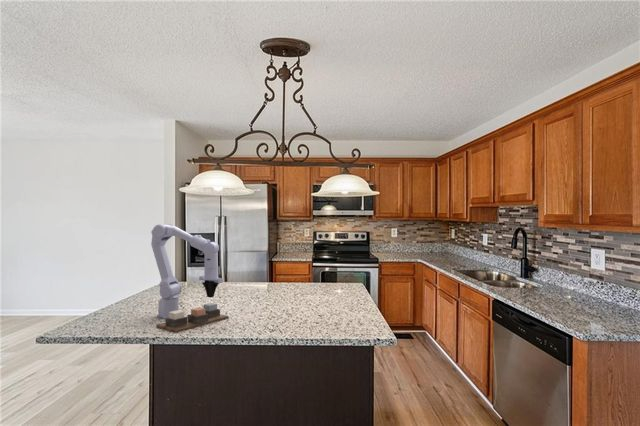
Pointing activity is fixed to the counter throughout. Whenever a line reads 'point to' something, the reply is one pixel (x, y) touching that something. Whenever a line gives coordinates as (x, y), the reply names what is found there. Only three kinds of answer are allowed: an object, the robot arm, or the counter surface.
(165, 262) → the robot arm
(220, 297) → the counter surface
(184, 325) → the brown socket board
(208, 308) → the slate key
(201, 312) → the salmon pink cube
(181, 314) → the cream cube
